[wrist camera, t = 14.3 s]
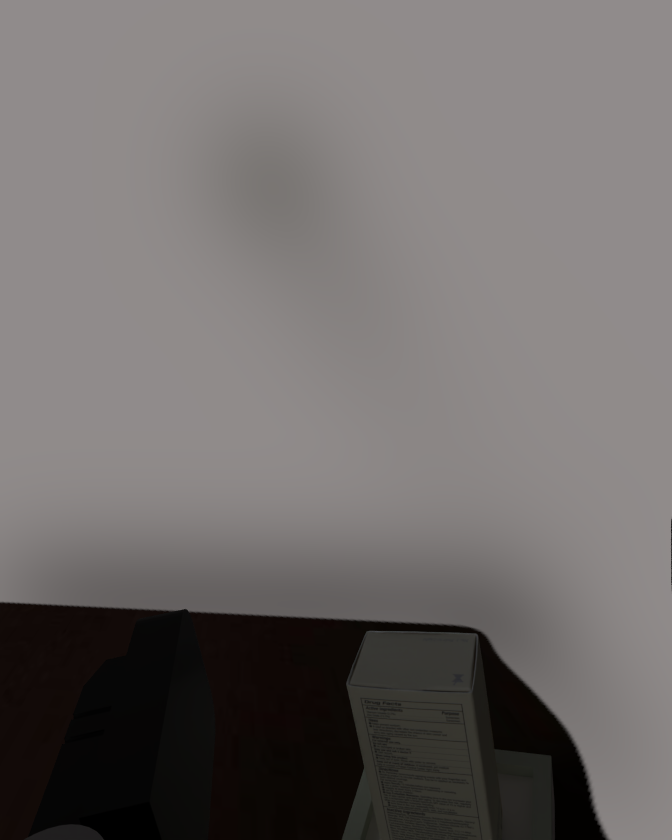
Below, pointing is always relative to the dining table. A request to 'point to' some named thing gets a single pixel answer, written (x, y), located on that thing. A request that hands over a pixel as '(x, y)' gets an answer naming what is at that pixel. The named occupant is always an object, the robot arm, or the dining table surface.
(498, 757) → the shallow open tray
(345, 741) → the dining table surface
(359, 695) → the skincare box
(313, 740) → the dining table surface
